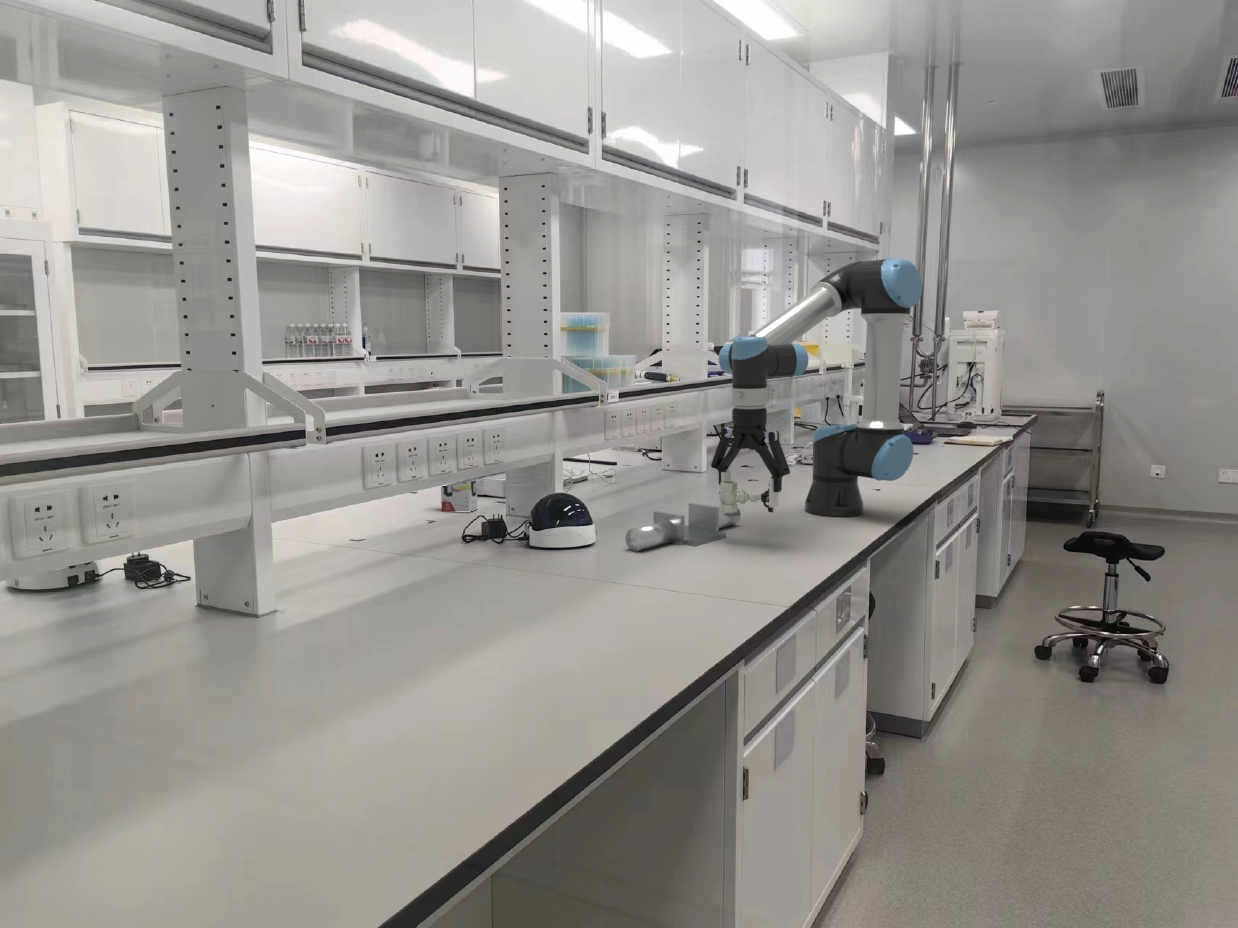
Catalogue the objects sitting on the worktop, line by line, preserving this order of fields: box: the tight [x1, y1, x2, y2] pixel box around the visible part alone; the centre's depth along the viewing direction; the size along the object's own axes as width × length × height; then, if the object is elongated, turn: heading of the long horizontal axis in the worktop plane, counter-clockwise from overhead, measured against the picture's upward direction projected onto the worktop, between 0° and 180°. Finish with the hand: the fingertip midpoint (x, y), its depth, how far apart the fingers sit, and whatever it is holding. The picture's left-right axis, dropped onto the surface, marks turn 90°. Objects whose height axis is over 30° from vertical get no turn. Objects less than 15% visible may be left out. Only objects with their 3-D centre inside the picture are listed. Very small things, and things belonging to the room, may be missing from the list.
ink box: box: [440, 479, 478, 512], centre depth 234 cm, size 9×5×12 cm, turn 73°
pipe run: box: [624, 502, 742, 552], centre depth 204 cm, size 37×14×6 cm, turn 138°
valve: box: [719, 480, 774, 513], centre depth 198 cm, size 7×7×12 cm
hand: (749, 503), depth 198 cm, fingers closed on valve, 12 cm apart
